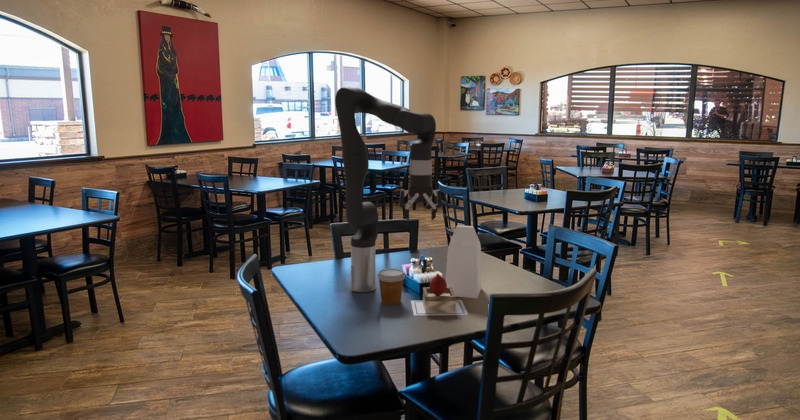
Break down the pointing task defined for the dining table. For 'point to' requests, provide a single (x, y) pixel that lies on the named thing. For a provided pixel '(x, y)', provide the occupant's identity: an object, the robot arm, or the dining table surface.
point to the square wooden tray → (439, 301)
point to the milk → (464, 263)
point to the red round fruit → (438, 285)
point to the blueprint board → (419, 310)
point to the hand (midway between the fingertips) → (420, 219)
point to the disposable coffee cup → (391, 285)
